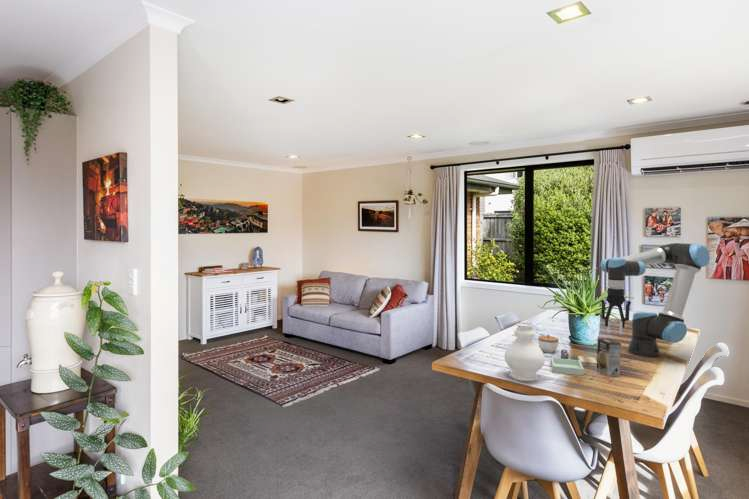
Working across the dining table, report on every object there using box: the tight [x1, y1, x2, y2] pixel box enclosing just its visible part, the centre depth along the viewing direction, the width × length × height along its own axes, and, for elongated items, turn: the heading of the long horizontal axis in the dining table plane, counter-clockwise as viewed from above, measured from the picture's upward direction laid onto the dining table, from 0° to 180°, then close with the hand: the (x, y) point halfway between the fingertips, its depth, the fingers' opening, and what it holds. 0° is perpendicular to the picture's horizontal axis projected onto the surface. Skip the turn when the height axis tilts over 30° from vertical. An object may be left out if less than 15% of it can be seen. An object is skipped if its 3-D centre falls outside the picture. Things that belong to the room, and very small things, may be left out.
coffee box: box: [596, 337, 622, 377], centre depth 211 cm, size 9×6×16 cm
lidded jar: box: [537, 334, 559, 354], centre depth 248 cm, size 11×11×9 cm
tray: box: [550, 357, 585, 376], centre depth 217 cm, size 14×15×3 cm
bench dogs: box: [560, 349, 570, 359], centre depth 230 cm, size 3×9×5 cm, turn 162°
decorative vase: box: [504, 322, 546, 382], centre depth 206 cm, size 18×18×25 cm
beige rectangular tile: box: [577, 355, 597, 368], centre depth 227 cm, size 8×10×2 cm
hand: (614, 333), depth 222 cm, fingers open, 5 cm apart
